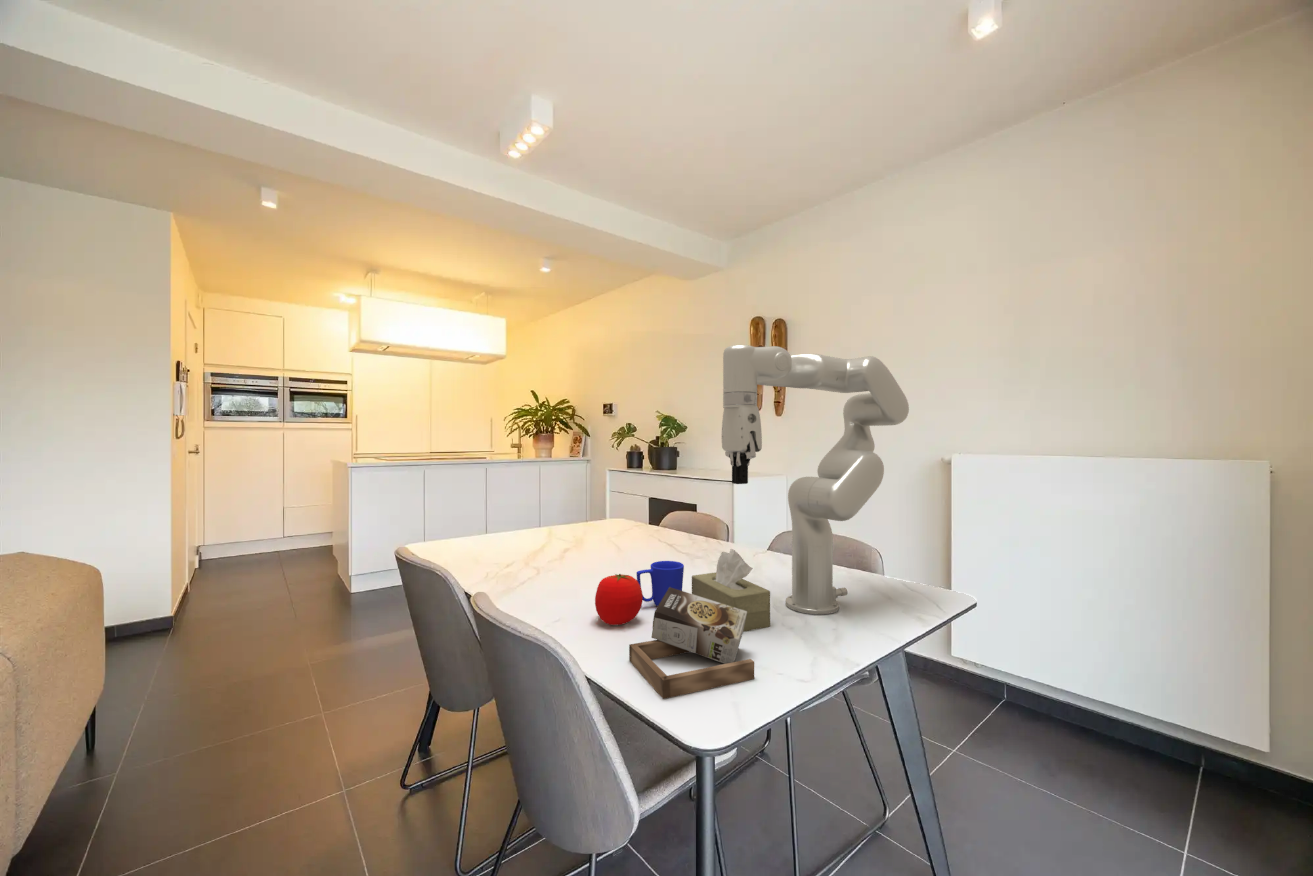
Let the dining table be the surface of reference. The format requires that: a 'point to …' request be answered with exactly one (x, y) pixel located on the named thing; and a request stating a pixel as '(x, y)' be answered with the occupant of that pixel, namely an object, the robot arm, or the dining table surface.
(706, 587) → the tissue box
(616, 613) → the tomato
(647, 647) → the u rest
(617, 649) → the dining table surface
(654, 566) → the mug
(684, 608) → the coffee box
